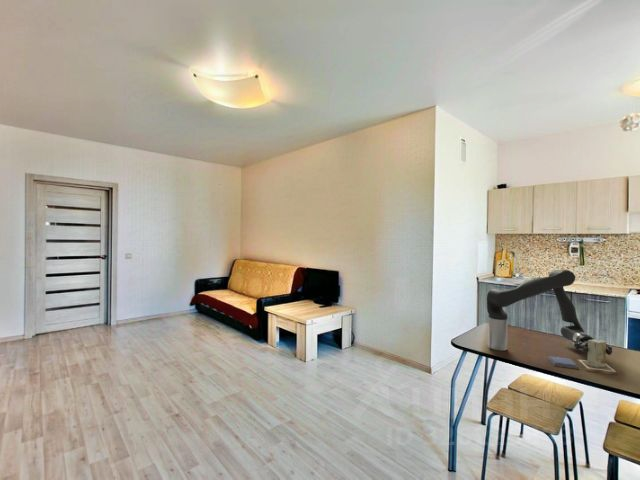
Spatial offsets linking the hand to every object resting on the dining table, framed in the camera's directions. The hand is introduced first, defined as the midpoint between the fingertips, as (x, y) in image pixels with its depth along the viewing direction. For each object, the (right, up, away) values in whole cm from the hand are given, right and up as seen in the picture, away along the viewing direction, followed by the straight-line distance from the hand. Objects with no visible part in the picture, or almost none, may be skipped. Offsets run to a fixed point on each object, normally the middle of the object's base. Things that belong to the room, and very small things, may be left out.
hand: (598, 351), depth 149 cm
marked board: (+1, -9, +2) cm, 9 cm away
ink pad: (-12, -8, +7) cm, 16 cm away
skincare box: (+1, -8, +2) cm, 8 cm away
